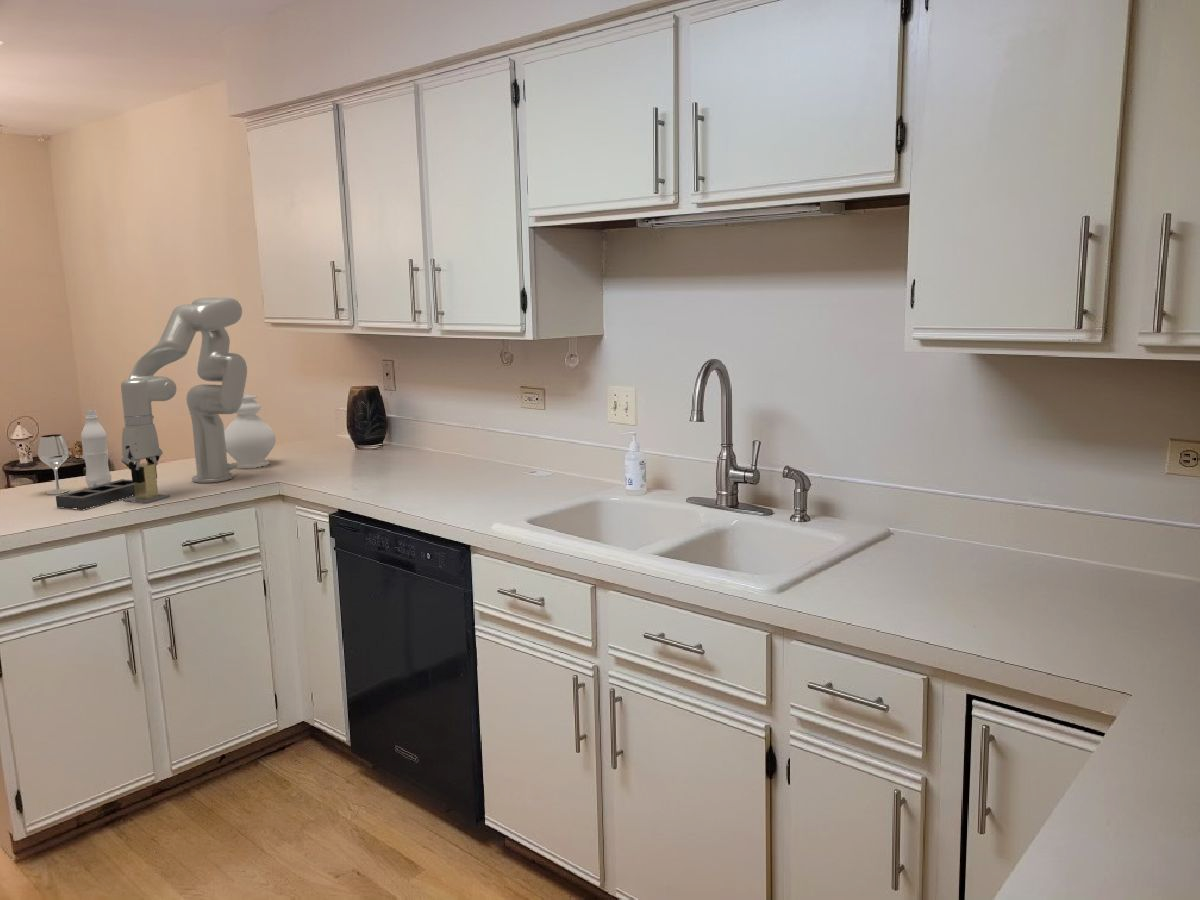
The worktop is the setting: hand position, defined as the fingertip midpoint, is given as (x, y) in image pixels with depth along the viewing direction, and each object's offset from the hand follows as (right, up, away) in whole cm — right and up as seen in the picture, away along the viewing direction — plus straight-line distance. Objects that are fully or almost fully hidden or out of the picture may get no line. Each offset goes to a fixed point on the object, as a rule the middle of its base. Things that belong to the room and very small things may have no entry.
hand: (144, 480), depth 267 cm
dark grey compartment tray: (-13, -6, +1) cm, 14 cm away
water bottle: (-24, -3, +18) cm, 30 cm away
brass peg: (0, -5, +1) cm, 5 cm away
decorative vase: (+11, +3, +52) cm, 54 cm away
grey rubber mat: (0, -6, +1) cm, 6 cm away
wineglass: (-33, -4, +11) cm, 35 cm away
